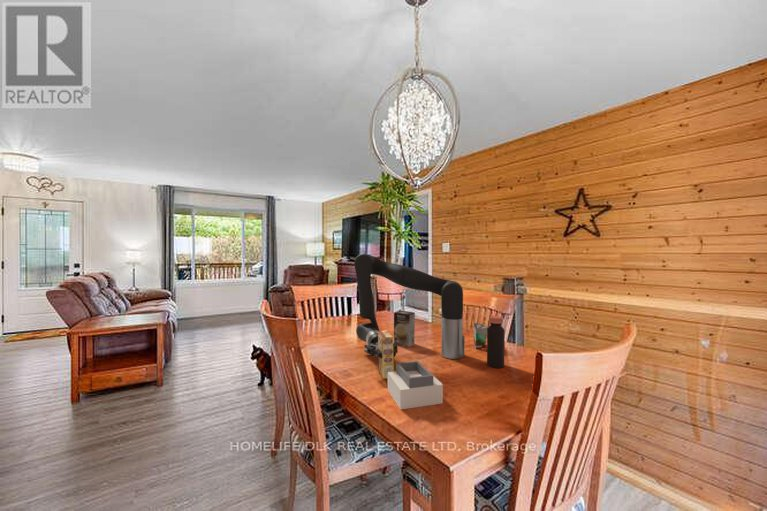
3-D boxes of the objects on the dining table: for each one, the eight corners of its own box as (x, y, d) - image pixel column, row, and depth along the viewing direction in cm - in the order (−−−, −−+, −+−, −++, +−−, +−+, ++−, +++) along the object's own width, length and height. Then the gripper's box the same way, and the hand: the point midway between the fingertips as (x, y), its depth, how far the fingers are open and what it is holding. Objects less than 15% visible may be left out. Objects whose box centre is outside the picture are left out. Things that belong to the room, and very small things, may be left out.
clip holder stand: (425, 384, 114) (425, 359, 114) (442, 403, 101) (442, 375, 100) (387, 389, 110) (387, 363, 110) (400, 409, 97) (400, 380, 96)
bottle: (506, 364, 132) (507, 316, 131) (500, 369, 127) (500, 319, 126) (491, 360, 137) (491, 314, 136) (484, 365, 132) (484, 317, 131)
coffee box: (393, 344, 160) (392, 312, 160) (399, 340, 166) (399, 310, 165) (409, 347, 155) (409, 314, 155) (415, 343, 161) (415, 312, 160)
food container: (489, 350, 150) (489, 329, 149) (475, 350, 151) (476, 329, 151) (486, 342, 162) (486, 323, 161) (473, 342, 163) (474, 322, 163)
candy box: (394, 377, 117) (393, 336, 116) (383, 379, 116) (382, 337, 115) (388, 368, 125) (388, 329, 125) (378, 369, 124) (377, 330, 124)
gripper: (359, 333, 132) (368, 346, 115) (392, 330, 136) (406, 343, 119) (359, 351, 132) (369, 367, 116) (392, 348, 136) (406, 362, 119)
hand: (387, 355), depth 118 cm, fingers closed on candy box, 4 cm apart
